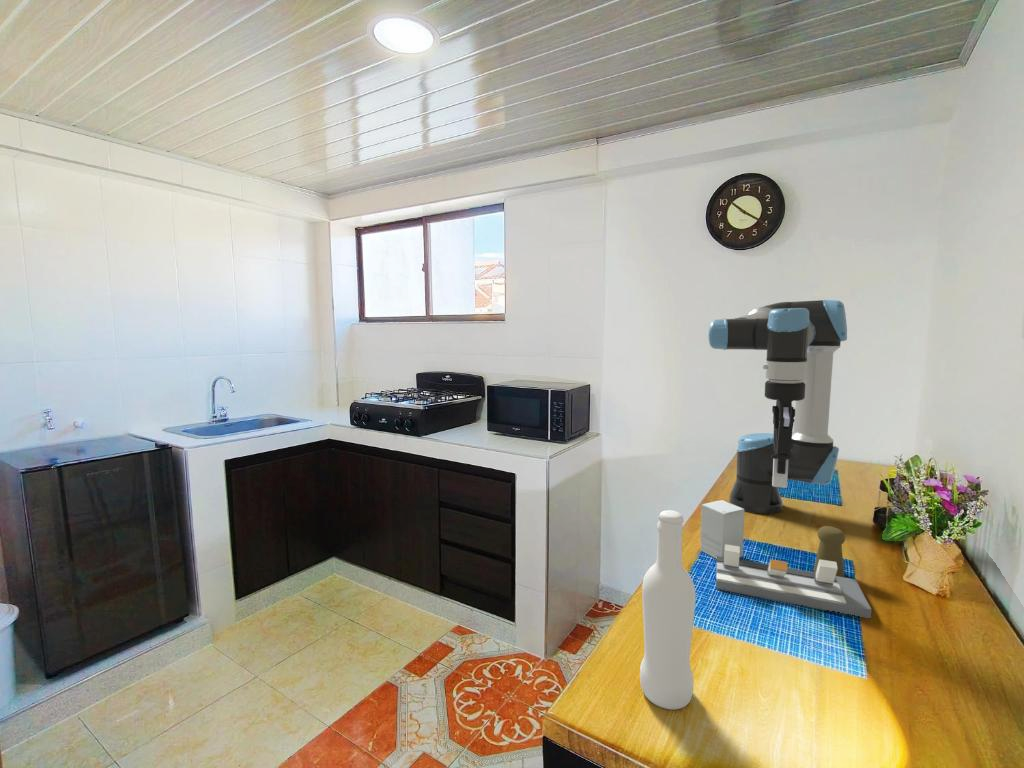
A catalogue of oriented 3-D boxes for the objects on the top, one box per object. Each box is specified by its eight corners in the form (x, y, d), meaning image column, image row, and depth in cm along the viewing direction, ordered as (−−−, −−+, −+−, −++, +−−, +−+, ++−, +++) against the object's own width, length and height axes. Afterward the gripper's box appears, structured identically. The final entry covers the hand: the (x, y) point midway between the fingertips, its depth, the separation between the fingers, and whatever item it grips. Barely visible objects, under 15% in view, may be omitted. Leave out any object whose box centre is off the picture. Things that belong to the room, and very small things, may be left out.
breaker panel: (716, 563, 114) (717, 553, 114) (854, 587, 103) (855, 577, 102) (716, 588, 103) (716, 578, 103) (870, 619, 92) (871, 607, 92)
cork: (849, 581, 105) (853, 535, 104) (820, 578, 107) (823, 533, 105) (836, 567, 111) (840, 524, 110) (808, 565, 112) (811, 522, 111)
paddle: (767, 567, 105) (770, 559, 100) (783, 570, 104) (787, 562, 98) (767, 575, 104) (770, 567, 99) (783, 578, 103) (787, 570, 98)
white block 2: (814, 577, 101) (818, 559, 97) (831, 580, 100) (836, 562, 96) (814, 584, 100) (819, 565, 96) (832, 587, 99) (838, 568, 95)
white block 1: (723, 561, 109) (724, 544, 105) (738, 564, 107) (740, 546, 104) (723, 567, 107) (724, 550, 104) (738, 570, 106) (740, 552, 102)
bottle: (632, 675, 78) (635, 504, 74) (679, 671, 79) (684, 501, 75) (650, 715, 70) (654, 525, 66) (702, 710, 71) (709, 522, 67)
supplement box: (743, 557, 117) (746, 508, 116) (721, 563, 114) (723, 513, 113) (720, 544, 124) (722, 499, 122) (699, 550, 121) (700, 503, 120)
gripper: (762, 376, 107) (758, 475, 110) (768, 383, 96) (762, 494, 99) (800, 377, 104) (794, 478, 107) (810, 385, 93) (803, 498, 96)
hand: (779, 486), depth 103 cm, fingers closed
